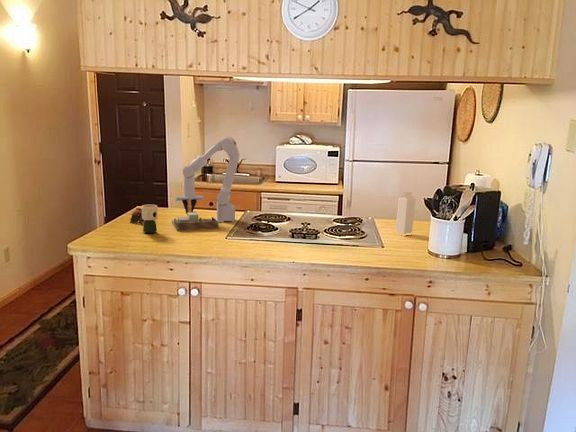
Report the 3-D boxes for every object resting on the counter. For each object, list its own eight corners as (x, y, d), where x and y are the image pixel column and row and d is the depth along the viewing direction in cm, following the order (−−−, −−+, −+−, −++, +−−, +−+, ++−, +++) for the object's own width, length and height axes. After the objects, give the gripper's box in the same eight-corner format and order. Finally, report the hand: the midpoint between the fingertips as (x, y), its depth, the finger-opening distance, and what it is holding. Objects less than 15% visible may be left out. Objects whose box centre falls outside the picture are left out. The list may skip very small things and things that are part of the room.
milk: (395, 234, 256) (398, 191, 252) (403, 232, 260) (407, 190, 255) (404, 236, 252) (407, 193, 247) (412, 235, 255) (416, 192, 250)
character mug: (154, 235, 234) (154, 208, 231) (139, 235, 234) (138, 207, 231) (160, 230, 244) (159, 203, 241) (145, 229, 244) (145, 203, 241)
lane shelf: (210, 220, 267) (210, 213, 266) (218, 229, 251) (218, 221, 250) (171, 222, 260) (171, 214, 259) (177, 231, 243) (177, 223, 243)
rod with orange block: (193, 215, 270) (193, 206, 269) (198, 222, 258) (198, 212, 256) (184, 216, 269) (184, 206, 267) (189, 222, 256) (189, 212, 255)
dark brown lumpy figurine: (126, 222, 259) (132, 207, 261) (143, 228, 263) (148, 214, 265) (133, 221, 249) (139, 205, 251) (150, 228, 253) (156, 213, 255)
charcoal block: (186, 224, 253) (186, 216, 252) (189, 227, 247) (189, 219, 246) (177, 225, 251) (177, 217, 250) (179, 227, 246) (179, 220, 245)
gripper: (176, 190, 259) (176, 215, 262) (204, 189, 264) (204, 214, 267) (174, 187, 265) (174, 212, 268) (201, 187, 271) (201, 211, 274)
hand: (189, 213), depth 268 cm, fingers closed on rod with orange block, 2 cm apart
